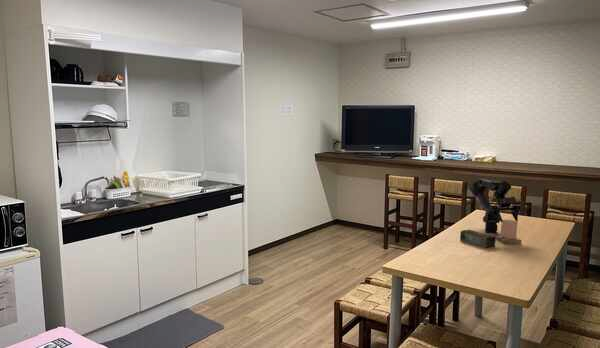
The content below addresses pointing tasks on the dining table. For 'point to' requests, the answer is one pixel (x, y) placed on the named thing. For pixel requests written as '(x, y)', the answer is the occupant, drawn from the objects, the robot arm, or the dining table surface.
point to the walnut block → (508, 240)
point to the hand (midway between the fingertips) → (509, 221)
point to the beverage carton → (477, 238)
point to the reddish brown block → (509, 229)
